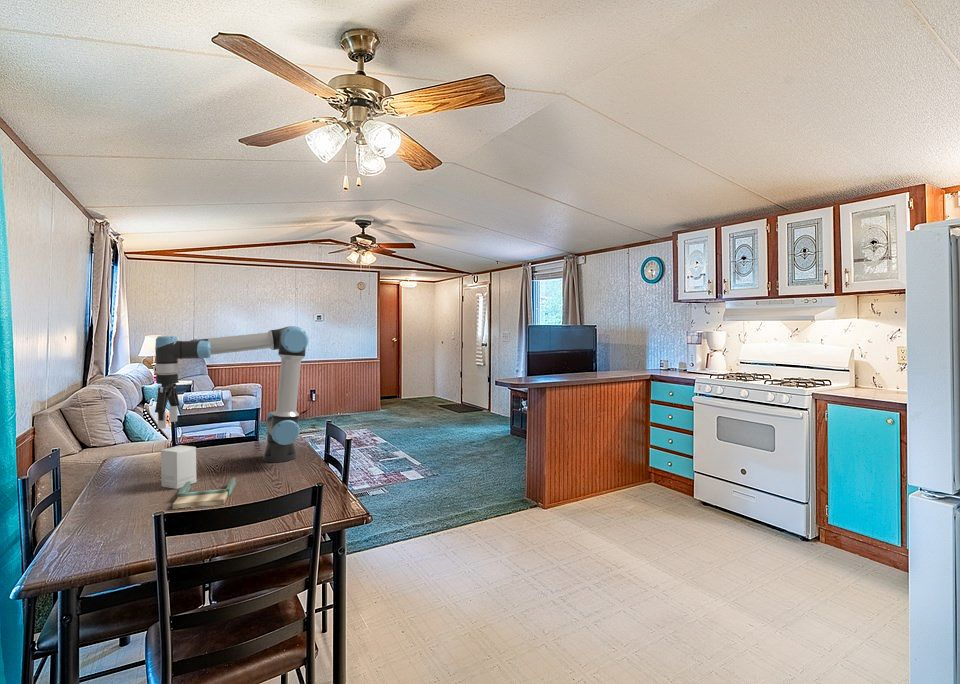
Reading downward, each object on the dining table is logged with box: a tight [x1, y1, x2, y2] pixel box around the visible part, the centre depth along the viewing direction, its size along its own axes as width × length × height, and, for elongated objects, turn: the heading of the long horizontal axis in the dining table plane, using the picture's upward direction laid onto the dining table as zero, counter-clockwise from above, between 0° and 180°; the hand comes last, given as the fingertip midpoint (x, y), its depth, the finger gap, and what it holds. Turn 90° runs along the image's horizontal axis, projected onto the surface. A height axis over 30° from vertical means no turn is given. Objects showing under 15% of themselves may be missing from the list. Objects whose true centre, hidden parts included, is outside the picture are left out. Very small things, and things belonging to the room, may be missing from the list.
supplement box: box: [160, 444, 197, 490], centre depth 190 cm, size 9×9×15 cm
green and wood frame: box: [172, 476, 237, 510], centre depth 178 cm, size 17×22×3 cm
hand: (168, 424), depth 193 cm, fingers open, 13 cm apart
